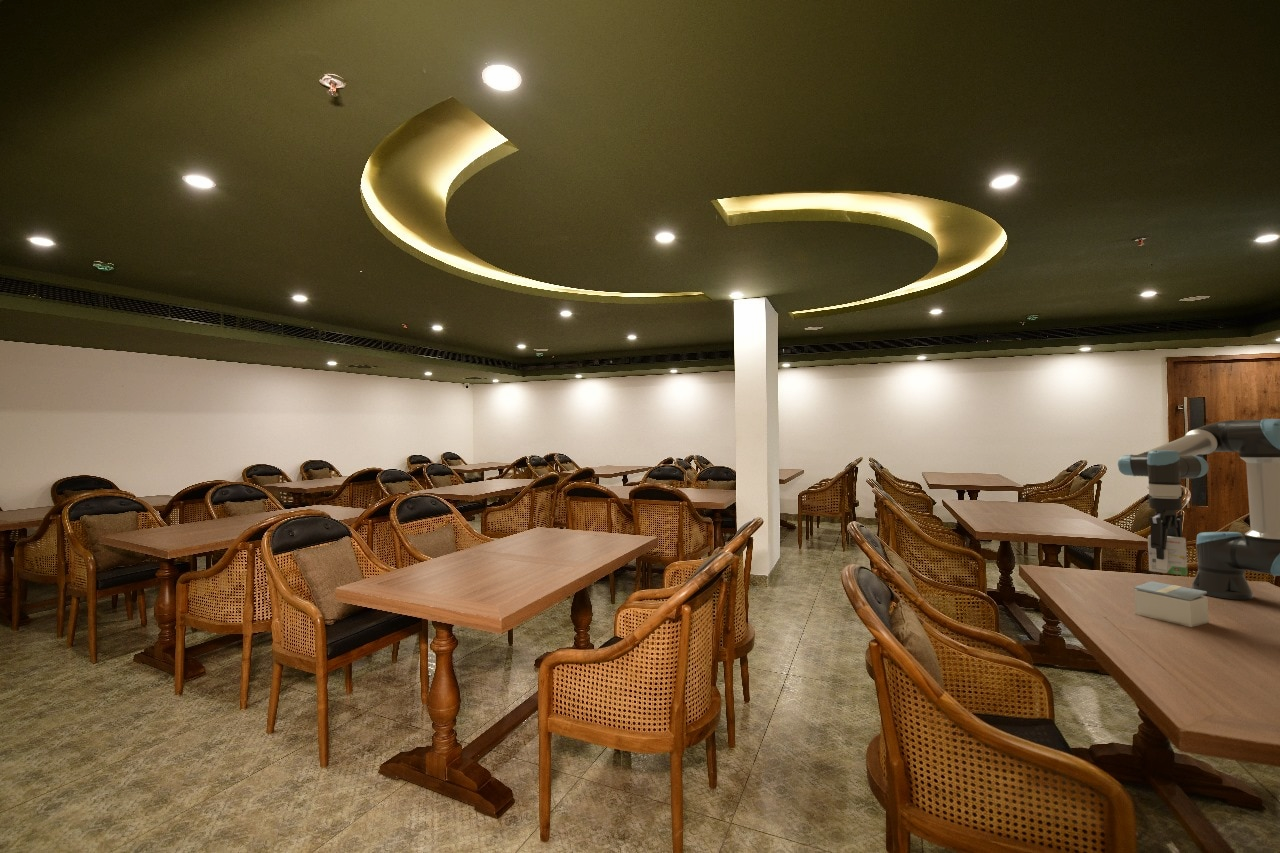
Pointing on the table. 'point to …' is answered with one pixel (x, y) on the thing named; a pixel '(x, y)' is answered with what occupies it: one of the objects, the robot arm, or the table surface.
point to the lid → (1170, 590)
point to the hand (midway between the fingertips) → (1168, 568)
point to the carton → (1172, 608)
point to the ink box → (1171, 556)
